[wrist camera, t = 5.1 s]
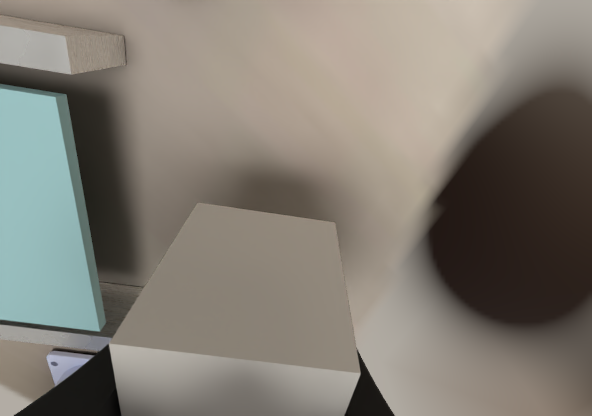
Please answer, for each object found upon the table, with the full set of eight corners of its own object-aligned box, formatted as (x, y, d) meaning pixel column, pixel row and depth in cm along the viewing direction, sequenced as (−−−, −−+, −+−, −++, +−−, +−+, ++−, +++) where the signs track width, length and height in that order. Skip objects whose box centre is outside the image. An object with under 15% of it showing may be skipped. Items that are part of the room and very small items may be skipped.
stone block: (303, 349, 15) (303, 519, 10) (195, 336, 15) (136, 503, 10) (335, 222, 12) (360, 373, 7) (197, 202, 12) (109, 343, 6)
